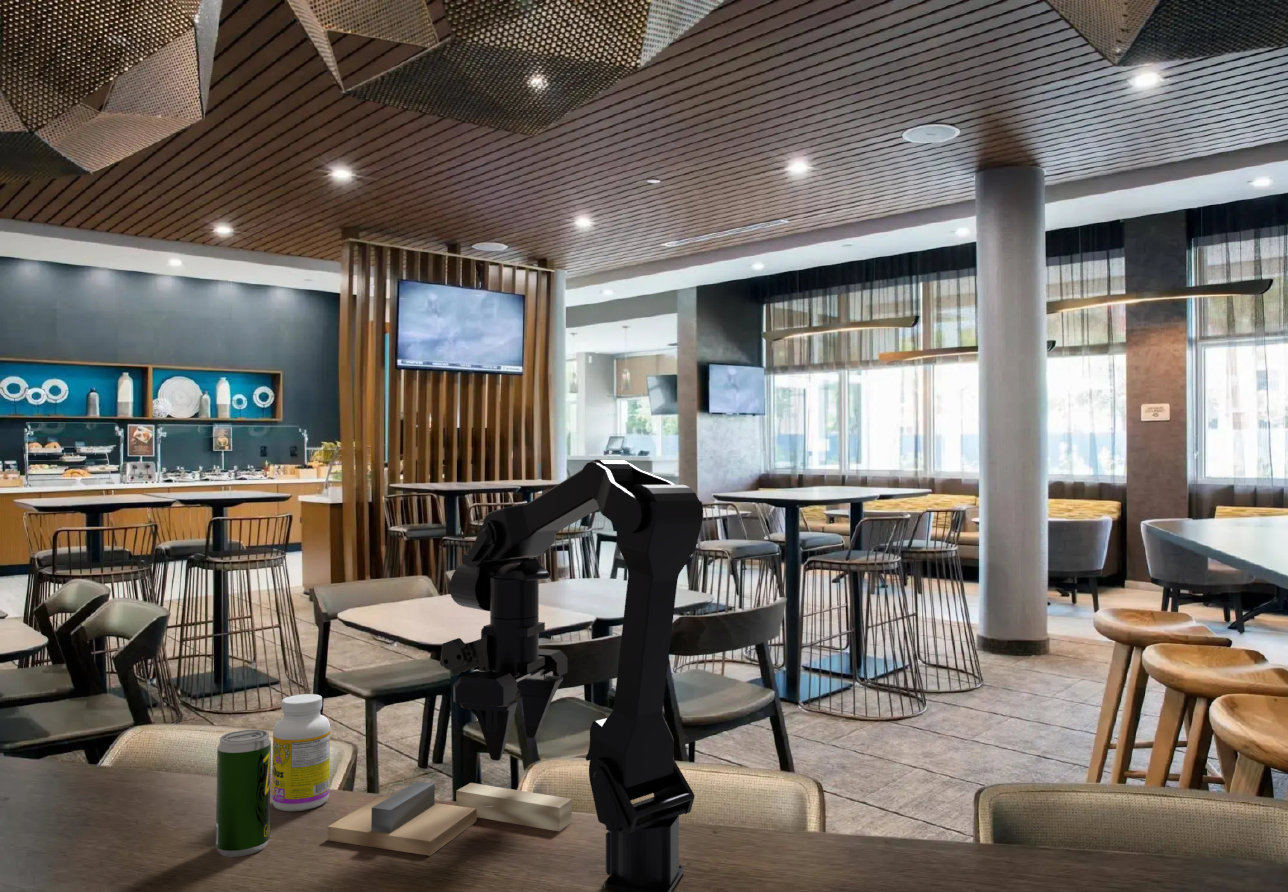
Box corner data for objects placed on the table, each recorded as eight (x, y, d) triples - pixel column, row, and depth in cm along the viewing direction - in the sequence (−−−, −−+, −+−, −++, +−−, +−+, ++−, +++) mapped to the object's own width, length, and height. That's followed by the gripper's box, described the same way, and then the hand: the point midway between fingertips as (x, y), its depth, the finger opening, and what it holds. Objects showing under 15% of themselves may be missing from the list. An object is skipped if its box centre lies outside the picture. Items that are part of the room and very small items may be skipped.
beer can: (219, 862, 94) (221, 746, 94) (211, 844, 98) (213, 733, 99) (274, 850, 97) (275, 737, 97) (264, 833, 101) (265, 726, 102)
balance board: (476, 821, 105) (476, 786, 105) (430, 855, 95) (430, 817, 95) (380, 808, 109) (381, 775, 109) (327, 840, 99) (328, 803, 100)
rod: (571, 824, 105) (571, 798, 105) (559, 834, 102) (559, 807, 102) (470, 807, 110) (470, 782, 110) (456, 815, 107) (456, 790, 108)
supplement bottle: (270, 798, 112) (272, 694, 113) (326, 790, 115) (327, 689, 116) (273, 816, 106) (274, 707, 107) (332, 808, 109) (333, 701, 110)
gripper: (491, 602, 118) (490, 722, 118) (411, 624, 101) (410, 765, 100) (569, 606, 115) (569, 729, 114) (501, 629, 97) (500, 775, 96)
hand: (514, 748), depth 106 cm, fingers open, 9 cm apart
